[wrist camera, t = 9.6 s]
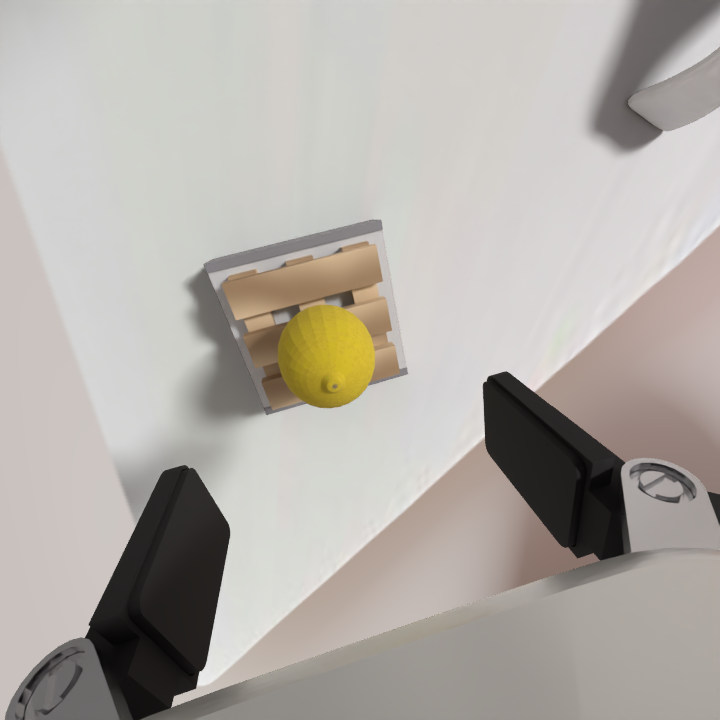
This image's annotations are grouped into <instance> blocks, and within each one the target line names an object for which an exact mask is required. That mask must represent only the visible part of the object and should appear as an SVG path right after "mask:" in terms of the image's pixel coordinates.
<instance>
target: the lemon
mask: <svg viewBox="0 0 720 720" xmlns="http://www.w3.org/2000/svg"><path fill="white" fill-rule="evenodd" d="M278 364H279V368H280V372H281V375H282V377H283V379H284V381H285V383H286V384H287V386H288V388H289V389H290V390H291V391H292V392H293V393H294V394H295V395H296V396H297V397H298V398H299V399H300V400H302V401H304V402H306V403H307V404H309V405H312V406H316V407H319V408H334V407H340V406H343V405H345V404H348V403H350V402H351V401H353V400H354V399H356V398H357V397H359V396H360V395H361V394H362V393H363V391H364V390H365V389H366V388H367V386H368V384H369V382H370V381H371V379H372V375H373V371H374V368H375V349H374V346H373V342H372V338H371V335H370V334H369V332H368V330H367V328H366V327H365V325H364V324H363V322H362V321H360V320H359V319H358V318H357V317H356V316H355V315H354V314H353V313H351V312H349V311H347V310H346V309H344V308H342V307H338V306H334V305H316V306H312V307H308V308H306V309H304V310H302V311H301V312H299V313H297V314H296V315H295V316H294V317H293V318H292V319H291V320H290V321H289V322H288V324H287V325H286V327H285V328H284V330H283V331H282V334H281V337H280V340H279V344H278Z"/></svg>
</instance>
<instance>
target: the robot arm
mask: <svg viewBox="0 0 720 720" xmlns="http://www.w3.org/2000/svg"><path fill="white" fill-rule="evenodd" d="M483 399H484V422H485V444H486V449H487V451H488V453H489V454H490V456H491V457H492V459H493V460H494V461H495V463H496V464H497V465H498V466H499V468H500V469H501V470H502V471H503V473H504V474H505V475H506V477H507V478H508V479H509V480H510V482H511V483H512V484H513V485H514V487H515V488H516V489H517V491H518V492H519V493H520V494H521V496H522V497H523V498H524V499H525V501H526V502H527V503H528V505H529V506H530V507H531V508H532V510H533V511H534V512H535V513H536V515H537V516H538V517H539V519H540V520H541V521H542V522H543V524H544V525H545V526H546V527H547V529H548V530H549V531H550V533H551V534H552V535H553V536H554V538H555V539H556V540H557V541H558V543H559V544H560V545H561V546H562V547H565V548H566V547H569V548H570V550H571V551H572V552H573V553H574V554H575V556H576V557H577V558H580V557H583V556H586V555H589V554H592V553H594V554H595V555H596V556H597V557H598V559H599V560H600V561H598V562H595V563H592V564H589V565H585V566H582V567H579V568H576V569H573V570H570V571H566V572H563V573H560V574H557V575H554V576H551V577H547V578H544V579H541V580H538V581H535V582H532V583H529V584H527V585H523V586H520V587H517V588H514V589H512V590H509V591H505V592H502V593H499V594H497V595H494V596H491V597H488V598H485V599H482V600H479V601H476V602H473V603H470V604H467V605H464V606H461V607H458V608H455V609H452V610H449V611H446V612H443V613H441V614H437V615H434V616H432V617H429V618H426V619H423V620H420V621H417V622H414V623H411V624H408V625H405V626H402V627H399V628H397V629H393V630H391V631H388V632H385V633H382V634H379V635H376V636H373V637H370V638H367V639H364V640H361V641H359V642H356V643H353V644H350V645H347V646H344V647H341V648H338V649H335V650H333V651H330V652H327V653H324V654H321V655H318V656H315V657H312V658H309V659H307V660H304V661H301V662H298V663H295V664H292V665H289V666H287V667H284V668H281V669H278V670H275V671H272V672H269V673H267V674H264V675H261V676H258V677H255V678H252V679H250V680H246V681H244V682H241V683H238V684H235V685H232V686H229V687H227V688H224V689H221V690H218V691H215V692H213V693H210V694H207V695H204V696H202V697H199V698H196V699H194V700H191V701H188V702H186V703H183V704H181V705H177V706H175V707H172V708H171V706H172V702H173V698H174V696H176V695H179V694H182V693H185V692H188V691H190V690H193V689H196V686H197V681H198V676H199V671H202V670H203V669H204V667H205V665H206V661H207V656H208V651H209V646H210V640H211V635H212V630H213V624H214V619H215V614H216V608H217V603H218V597H219V592H220V587H221V581H222V576H223V571H224V565H225V560H226V555H227V549H228V544H229V539H230V528H229V524H228V522H227V521H226V519H225V518H224V516H223V514H222V513H221V511H220V509H219V508H218V506H217V505H216V503H215V501H214V500H213V498H212V496H211V495H210V493H209V492H208V490H207V488H206V487H205V485H204V483H203V482H202V480H201V479H200V477H199V475H198V474H197V472H196V471H195V469H193V468H190V469H189V468H188V467H187V466H186V465H183V466H179V467H176V468H172V469H169V470H165V471H164V472H163V473H162V474H161V476H160V478H159V480H158V482H157V484H156V486H155V488H154V490H153V492H152V494H151V497H150V499H149V501H148V503H147V505H146V507H145V509H144V511H143V513H142V515H141V517H140V519H139V521H138V523H137V525H136V528H135V530H134V532H133V534H132V536H131V538H130V540H129V542H128V544H127V546H126V548H125V551H124V552H123V554H122V556H121V559H120V561H119V563H118V565H117V567H116V569H115V571H114V573H113V575H112V577H111V579H110V582H109V584H108V585H107V588H106V590H105V592H104V594H103V596H102V598H101V600H100V602H99V604H98V606H97V608H96V610H95V612H94V614H93V616H92V618H91V621H90V623H89V626H90V629H89V631H88V633H87V635H86V637H85V638H77V639H73V640H70V641H68V642H66V643H64V644H63V645H61V646H59V647H58V648H56V649H55V650H53V651H52V652H51V653H50V654H48V655H47V656H46V657H45V658H44V659H43V660H42V661H41V662H40V663H39V664H37V665H36V667H34V668H33V670H32V671H31V672H30V673H29V675H28V676H27V677H26V678H25V679H24V681H23V682H22V683H21V685H20V686H19V688H18V690H17V691H16V693H15V695H14V696H13V698H12V700H11V702H10V704H9V707H8V709H7V712H6V716H5V720H720V494H715V493H711V492H707V491H706V489H705V487H704V486H703V484H702V482H701V481H699V480H698V479H697V478H696V477H695V476H694V475H693V474H692V473H690V472H688V471H687V470H685V469H683V468H682V467H680V466H677V465H675V464H672V463H670V462H667V461H663V460H659V459H653V458H637V459H632V460H630V461H628V462H626V463H625V462H624V461H623V460H621V459H620V458H619V457H617V456H616V455H615V454H614V453H612V452H611V451H610V450H608V449H607V448H606V447H605V446H603V445H602V444H601V443H599V442H598V441H597V440H596V439H594V438H593V437H592V436H590V435H589V434H588V433H586V432H585V431H584V430H583V429H581V428H580V427H579V426H578V425H576V424H575V423H574V422H572V421H571V420H569V419H568V418H567V417H566V416H565V415H563V414H562V413H561V412H559V411H558V410H557V409H556V408H554V407H553V406H551V405H550V404H548V403H547V402H546V401H545V400H543V399H542V398H541V397H539V396H538V395H537V394H536V393H534V392H533V391H532V390H530V389H529V388H528V387H527V386H525V385H524V384H523V383H521V382H520V381H519V380H518V379H516V378H515V377H514V376H512V375H511V374H510V373H508V372H502V373H498V374H495V375H491V376H489V377H488V378H487V382H484V384H483Z"/></svg>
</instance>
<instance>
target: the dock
mask: <svg viewBox="0 0 720 720" xmlns="http://www.w3.org/2000/svg"><path fill="white" fill-rule="evenodd" d="M382 229H383V228H382V222H381V220H369V221H365V222H361V223H357V224H353V225H349V226H345V227H341V228H337V229H333V230H329V231H325V232H321V233H317V234H313V235H309V236H304V237H300V238H296V239H292V240H288V241H284V242H280V243H276V244H272V245H268V246H264V247H260V248H256V249H252V250H248V251H244V252H240V253H236V254H232V255H228V256H224V257H220V258H216V259H212V260H210V261H209V262H207V263H205V264H204V267H205V269H206V271H207V273H208V275H209V277H210V280H211V282H212V285H213V287H214V289H215V292H216V294H217V297H218V299H219V301H220V304H221V306H222V309H223V311H224V313H225V316H226V318H227V320H228V323H229V325H230V328H231V330H232V332H233V335H234V337H235V340H236V342H237V344H238V347H239V349H240V352H241V354H242V356H243V359H244V361H245V364H246V366H247V368H248V371H249V373H250V376H251V378H252V380H253V383H254V385H255V387H256V390H257V392H258V395H259V397H260V399H261V402H262V404H263V407H264V410H265V412H266V415H268V414H272V413H275V412H279V411H282V410H286V409H289V408H293V407H296V406H299V405H303V404H306V402H304V401H303V402H299V403H296V404H292V405H289V406H286V407H282V408H279V409H275V410H272V408H271V405H270V403H269V400H268V398H267V395H266V393H265V390H264V388H263V386H262V378H264V377H266V375H265V372H264V369H263V367H259V368H255V366H254V363H253V361H252V358H251V356H250V353H249V351H248V349H247V346H246V344H245V341H244V339H243V336H244V333H247V332H249V331H248V329H247V326H246V324H245V321H244V319H240V320H236V319H235V317H234V314H233V312H232V309H231V307H230V304H229V302H228V299H227V297H226V294H225V292H224V289H223V287H222V283H223V282H226V281H228V278H227V277H229V276H230V275H232V274H236V273H240V272H244V271H248V270H252V269H256V268H257V271H258V273H261V272H265V271H269V270H273V269H277V268H281V267H284V266H286V261H288V260H291V259H295V258H299V257H303V256H307V255H311V254H312V256H313V259H316V258H320V257H324V256H328V255H332V254H336V253H339V252H341V248H340V247H343V246H347V245H351V244H355V243H359V242H363V241H368V242H369V245H371V244H375V245H376V246H377V251H378V257H379V262H380V267H381V273H382V278H383V282H379V283H377V288H378V293H379V297H382V296H384V297H385V298H386V300H387V305H388V311H389V316H390V321H391V327H392V331H389V332H386V334H387V339H388V343H389V342H393V344H394V345H395V348H396V354H397V359H398V364H399V370H400V374H396V375H393V376H390V377H386V378H383V379H379V380H376V381H372V382H369V384H368V386H369V385H372V384H376V383H379V382H382V381H386V380H389V379H393V378H396V377H400V376H403V375H407V374H408V372H407V367H406V362H405V356H404V350H403V345H402V339H401V333H400V327H399V322H398V316H397V310H396V304H395V299H394V293H393V287H392V282H391V276H390V270H389V264H388V259H387V253H386V247H385V241H384V236H383V230H382ZM324 300H325V303H326V305H334V306H338V307H344V306H348V305H352V304H353V300H352V295H351V291H350V290H349V291H345V292H342V293H338V294H334V295H330V296H327V297H324ZM299 312H301V311H300V308H299V305H298V304H296V305H292V306H289V307H285V308H281V309H277V310H274V311H272V313H273V316H274V319H275V322H276V325H277V324H281V323H285V322H288V321H290V320H291V319H292V318H293V317H294V316H295V315H296V314H297V313H299Z"/></svg>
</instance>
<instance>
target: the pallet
mask: <svg viewBox="0 0 720 720" xmlns="http://www.w3.org/2000/svg"><path fill="white" fill-rule="evenodd" d="M340 248H341V252H339V253H336V254H332V255H328V256H324V257H320V258H316V259H313V256H312V254H311V255H307V256H303V257H299V258H295V259H291V260H288V261H286V266H284V267H281V268H277V269H273V270H269V271H265V272H261V273H258V271H257V268H256V269H252V270H248V271H244V272H240V273H236V274H232V275H230V276H229V277H227V278H228V281H226V282H223V283H222V287H223V289H224V292H225V294H226V297H227V299H228V302H229V304H230V307H231V309H232V312H233V314H234V317H235V319H236V320H240V319H244V321H245V324H246V326H247V329H248V331H249V332H247V333H244V336H243V339H244V341H245V344H246V346H247V349H248V351H249V353H250V356H251V358H252V361H253V363H254V366H255V368H259V367H263V369H264V372H265V375H266V377H264V378H262V386H263V388H264V390H265V393H266V395H267V398H268V400H269V403H270V405H271V408H272V410H275V409H279V408H282V407H286V406H289V405H292V404H296V403H299V402H303V401H302V400H300V399H299V398H298V397H297V396H296V395H295V394H294V393H293V392H292V391H291V390H290V389H289V388H288V386H287V384H286V383H285V381H284V379H283V377H282V375H281V372H280V368H279V364H278V344H279V340H280V337H281V334H282V331H283V330H284V328H285V327H286V325H287V324H288V322H289V321H288V322H285V323H281V324H277V325H276V322H275V319H274V316H273V313H272V311H274V310H277V309H281V308H285V307H289V306H292V305H296V304H298V305H299V308H300V311H302V310H304V309H306V308H308V307H312V306H316V305H326V303H325V300H324V297H327V296H330V295H334V294H338V293H342V292H345V291H349V290H350V291H351V295H352V300H353V304H352V305H348V306H344V307H342V308H344V309H346V310H347V311H349V312H351V313H353V314H354V315H355V316H356V317H357V318H358V319H359V320H360V321H362V322H363V324H364V325H365V327H366V328H367V330H368V332H369V334H370V335H371V338H372V342H373V346H374V349H375V368H374V371H373V375H372V379H371V381H370V382H372V381H376V380H379V379H383V378H386V377H390V376H393V375H396V374H400V370H399V364H398V359H397V354H396V348H395V345H394V344H393V342H389V343H388V339H387V334H386V332H389V331H392V327H391V321H390V316H389V311H388V305H387V300H386V298H385V297H384V296H382V297H379V293H378V288H377V283H379V282H383V278H382V273H381V267H380V262H379V257H378V251H377V246H376V245H375V244H371V245H369V242H368V241H363V242H359V243H355V244H351V245H347V246H343V247H340Z"/></svg>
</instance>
